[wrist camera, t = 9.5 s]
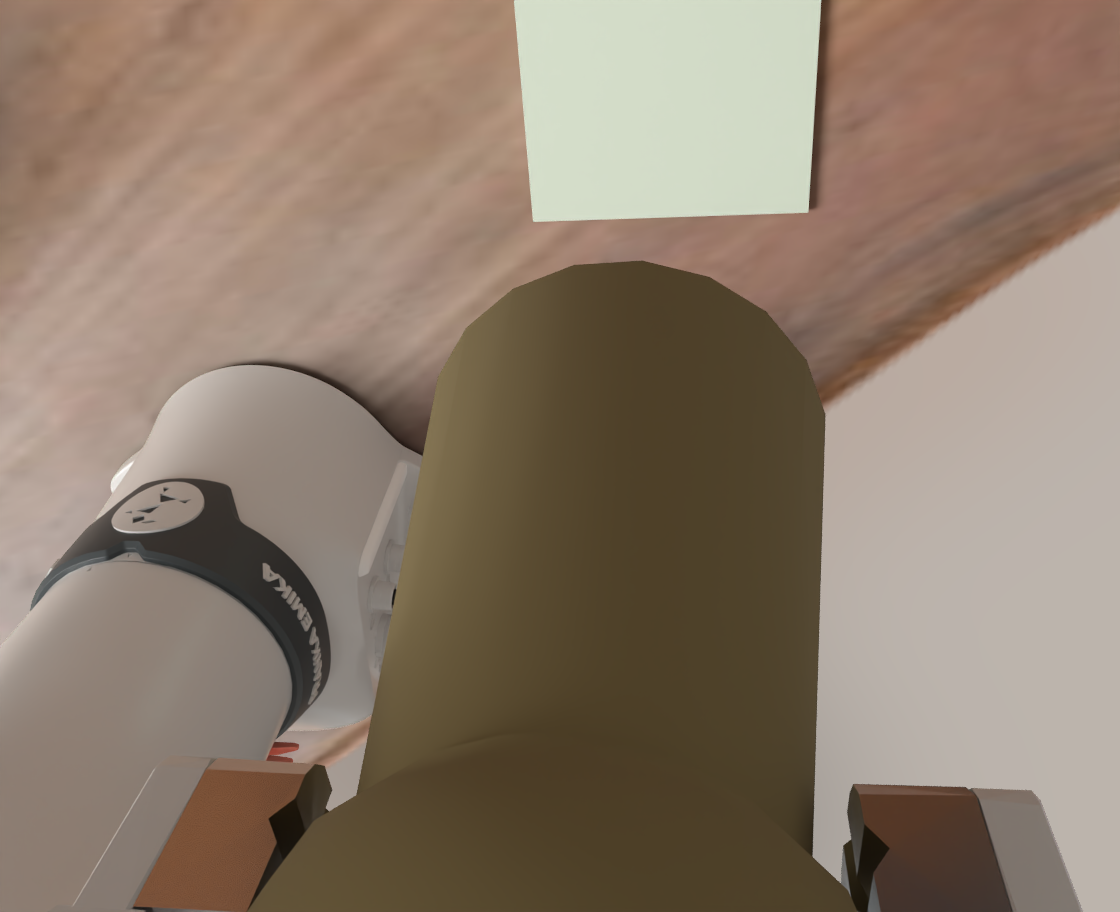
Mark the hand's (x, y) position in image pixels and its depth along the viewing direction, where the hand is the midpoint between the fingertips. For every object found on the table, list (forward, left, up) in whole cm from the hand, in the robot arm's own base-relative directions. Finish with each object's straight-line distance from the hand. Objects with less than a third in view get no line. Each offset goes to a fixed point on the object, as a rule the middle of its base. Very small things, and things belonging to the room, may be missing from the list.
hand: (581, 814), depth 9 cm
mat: (0, 0, -37) cm, 37 cm away
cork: (0, 0, -7) cm, 7 cm away
